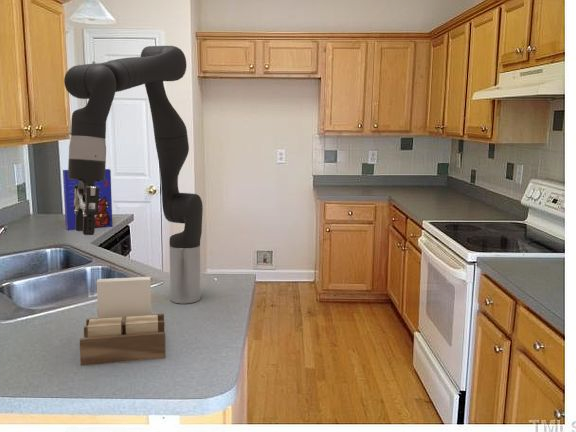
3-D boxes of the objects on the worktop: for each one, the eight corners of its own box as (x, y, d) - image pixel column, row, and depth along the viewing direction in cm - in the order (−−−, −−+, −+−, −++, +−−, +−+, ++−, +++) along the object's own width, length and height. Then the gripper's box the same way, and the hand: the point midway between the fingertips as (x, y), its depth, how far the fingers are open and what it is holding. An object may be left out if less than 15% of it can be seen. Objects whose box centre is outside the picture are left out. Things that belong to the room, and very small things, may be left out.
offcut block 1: (91, 352, 117) (89, 319, 115) (123, 349, 118) (122, 317, 117) (88, 360, 112) (87, 326, 111) (122, 358, 114) (120, 324, 113)
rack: (88, 346, 123) (86, 318, 121) (164, 340, 127) (163, 313, 126) (80, 370, 111) (79, 340, 109) (165, 362, 115) (165, 333, 114)
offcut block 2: (127, 349, 119) (126, 316, 117) (158, 346, 121) (157, 314, 119) (126, 357, 114) (125, 324, 113) (158, 354, 116) (157, 321, 115)
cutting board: (100, 343, 122) (97, 279, 119) (151, 339, 125) (150, 276, 122) (99, 347, 119) (96, 282, 117) (151, 343, 122) (150, 279, 120)
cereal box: (109, 224, 270) (107, 168, 265) (112, 226, 265) (110, 169, 260) (65, 228, 258) (62, 169, 253) (67, 230, 253) (64, 170, 248)
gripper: (113, 159, 106) (110, 236, 107) (98, 160, 118) (95, 229, 119) (75, 156, 102) (71, 236, 103) (63, 157, 114) (60, 229, 115)
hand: (84, 232), depth 111 cm, fingers open, 8 cm apart
